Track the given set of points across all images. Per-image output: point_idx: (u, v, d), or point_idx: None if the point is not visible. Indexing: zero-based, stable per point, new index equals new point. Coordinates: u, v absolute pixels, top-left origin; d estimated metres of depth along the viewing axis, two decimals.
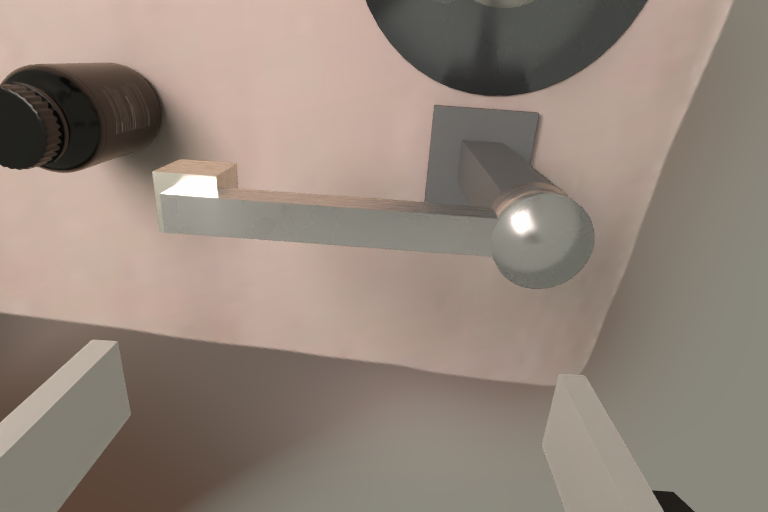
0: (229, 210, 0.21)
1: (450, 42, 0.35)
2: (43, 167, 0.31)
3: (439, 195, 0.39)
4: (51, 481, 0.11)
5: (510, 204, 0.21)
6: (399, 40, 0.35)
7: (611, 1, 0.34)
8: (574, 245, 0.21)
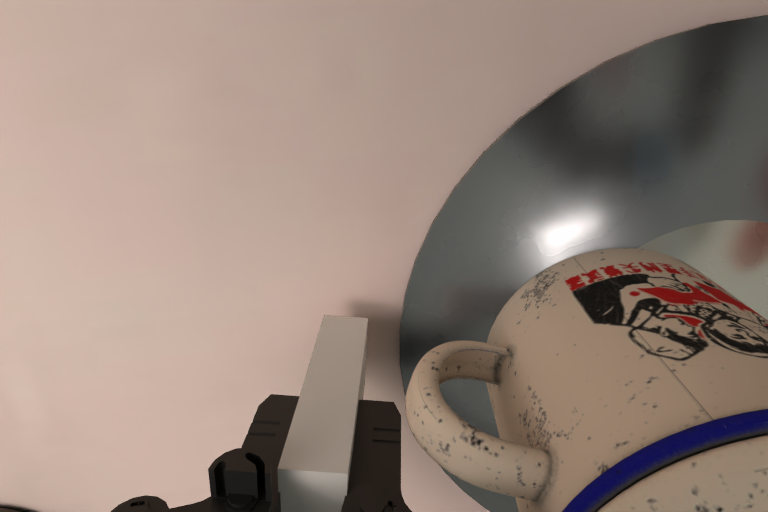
0: None
1: None
2: None
3: None
4: None
5: None
6: (480, 488, 0.20)
7: None
8: None
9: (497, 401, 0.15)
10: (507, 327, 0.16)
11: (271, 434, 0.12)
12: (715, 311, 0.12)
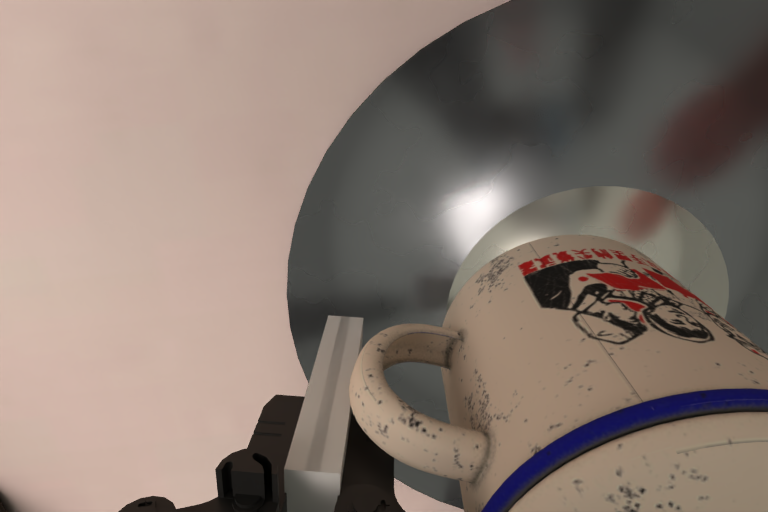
0: None
1: None
2: None
3: None
4: None
5: None
6: None
7: None
8: None
9: (447, 385, 0.15)
10: (461, 311, 0.15)
11: (277, 434, 0.12)
12: (658, 297, 0.12)
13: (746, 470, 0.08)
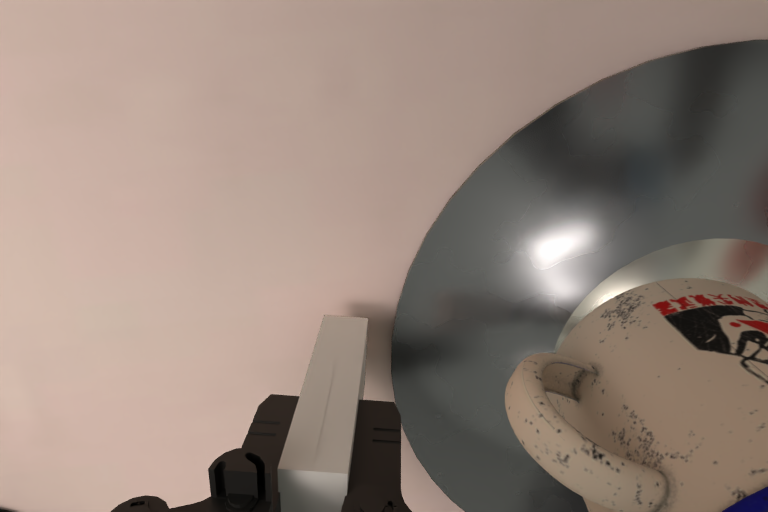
0: None
1: (556, 504, 0.20)
2: None
3: None
4: None
5: None
6: (468, 498, 0.20)
7: None
8: None
9: (573, 417, 0.15)
10: (586, 344, 0.16)
11: (271, 434, 0.12)
12: None
13: None
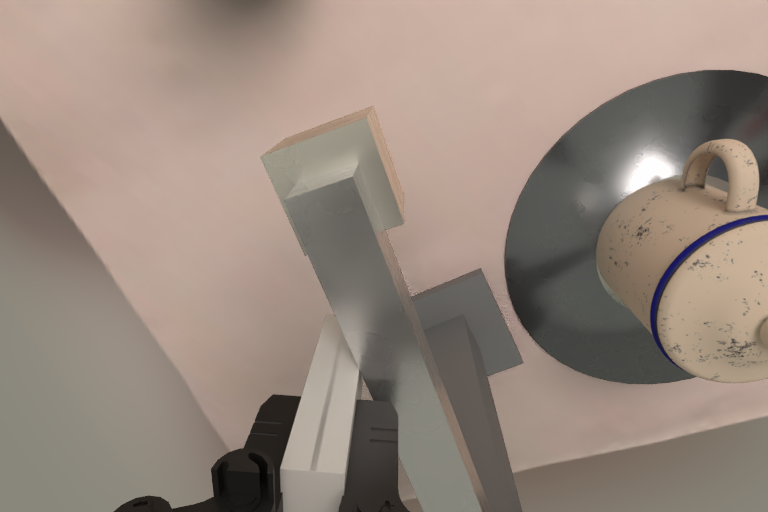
0: (376, 292, 0.12)
1: (548, 251, 0.32)
2: None
3: None
4: None
5: None
6: (527, 203, 0.31)
7: (642, 360, 0.35)
8: None
9: (673, 195, 0.27)
10: None
11: (273, 434, 0.12)
12: None
13: None
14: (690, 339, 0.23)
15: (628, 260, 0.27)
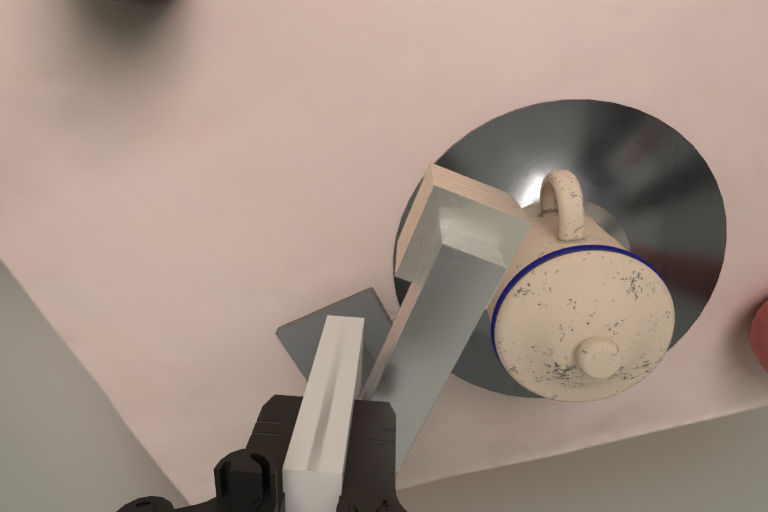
0: (440, 352, 0.13)
1: None
2: None
3: (294, 340, 0.35)
4: None
5: None
6: None
7: None
8: None
9: (532, 220, 0.28)
10: None
11: (275, 434, 0.12)
12: None
13: (660, 301, 0.23)
14: (523, 361, 0.24)
15: None
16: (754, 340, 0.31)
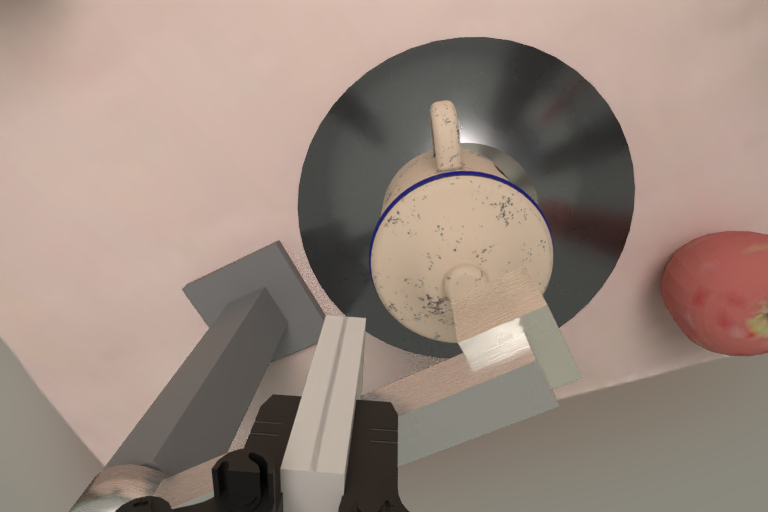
0: (457, 429, 0.15)
1: (340, 223, 0.32)
2: None
3: (202, 296, 0.34)
4: None
5: None
6: (310, 173, 0.31)
7: None
8: None
9: (425, 160, 0.27)
10: None
11: (273, 434, 0.12)
12: None
13: (534, 229, 0.22)
14: (400, 297, 0.23)
15: None
16: (663, 290, 0.30)
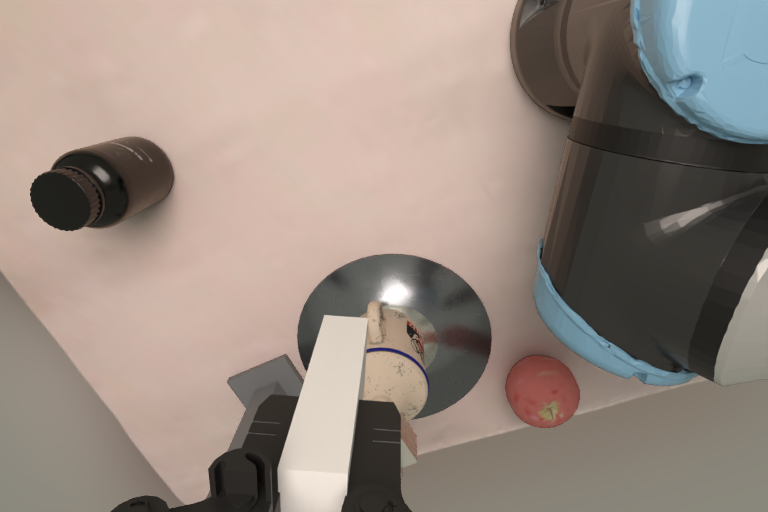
0: None
1: None
2: None
3: (238, 386, 0.56)
4: None
5: None
6: (305, 319, 0.53)
7: None
8: None
9: None
10: (385, 313, 0.51)
11: (271, 434, 0.12)
12: (422, 353, 0.49)
13: (415, 376, 0.44)
14: None
15: None
16: None
